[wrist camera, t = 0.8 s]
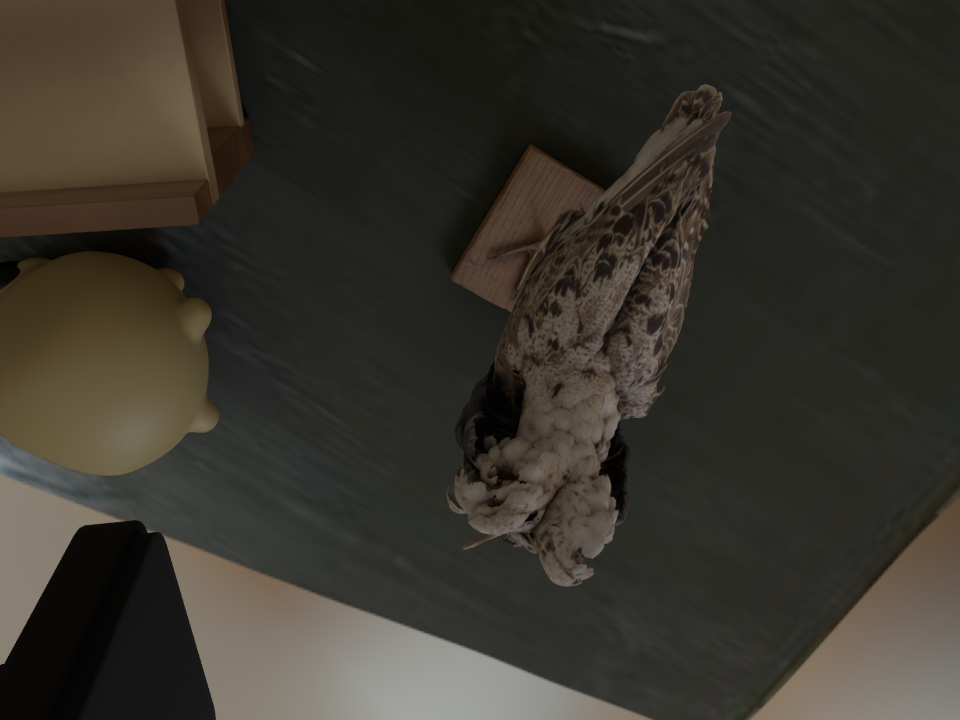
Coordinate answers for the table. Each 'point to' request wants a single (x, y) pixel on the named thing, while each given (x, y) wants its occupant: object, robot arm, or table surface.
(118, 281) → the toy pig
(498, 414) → the stuffed bird
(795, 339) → the table surface
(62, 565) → the robot arm
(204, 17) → the rack
